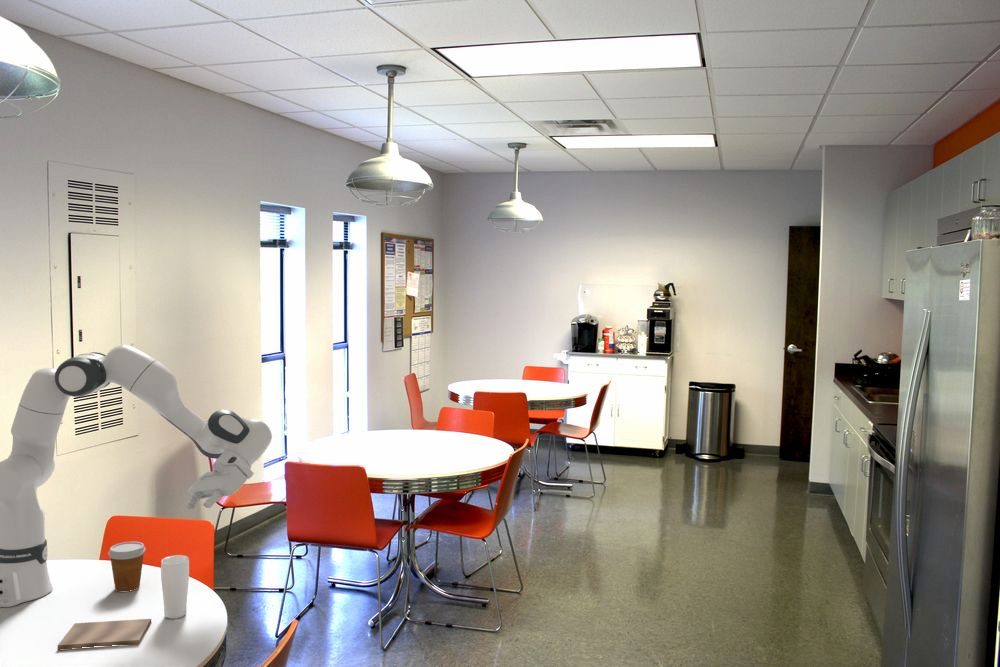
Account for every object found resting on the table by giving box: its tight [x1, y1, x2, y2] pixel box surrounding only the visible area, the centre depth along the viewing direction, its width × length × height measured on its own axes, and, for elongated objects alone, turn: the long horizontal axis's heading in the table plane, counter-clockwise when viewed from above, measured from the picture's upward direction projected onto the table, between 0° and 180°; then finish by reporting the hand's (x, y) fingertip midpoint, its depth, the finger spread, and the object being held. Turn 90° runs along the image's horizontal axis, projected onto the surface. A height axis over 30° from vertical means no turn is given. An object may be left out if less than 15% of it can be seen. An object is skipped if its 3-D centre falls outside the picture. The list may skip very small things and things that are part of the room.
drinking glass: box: [160, 554, 190, 620], centre depth 203 cm, size 7×7×15 cm
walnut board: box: [57, 618, 152, 651], centre depth 191 cm, size 18×12×1 cm, turn 101°
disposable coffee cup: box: [107, 541, 146, 592], centre depth 220 cm, size 10×10×12 cm
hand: (197, 507), depth 207 cm, fingers open, 8 cm apart
